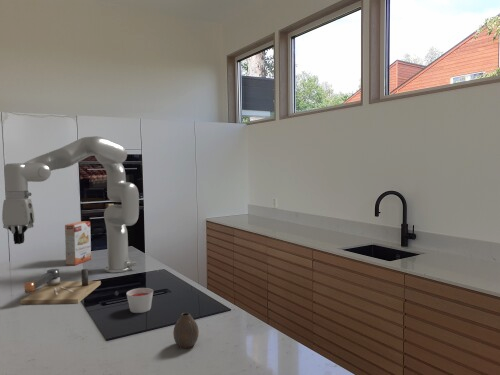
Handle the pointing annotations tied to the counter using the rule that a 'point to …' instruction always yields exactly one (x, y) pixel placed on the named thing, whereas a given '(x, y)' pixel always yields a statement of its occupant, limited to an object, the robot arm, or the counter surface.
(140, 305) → the candle
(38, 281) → the lever
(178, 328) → the vase
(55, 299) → the base
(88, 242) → the cracker box
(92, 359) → the counter surface
